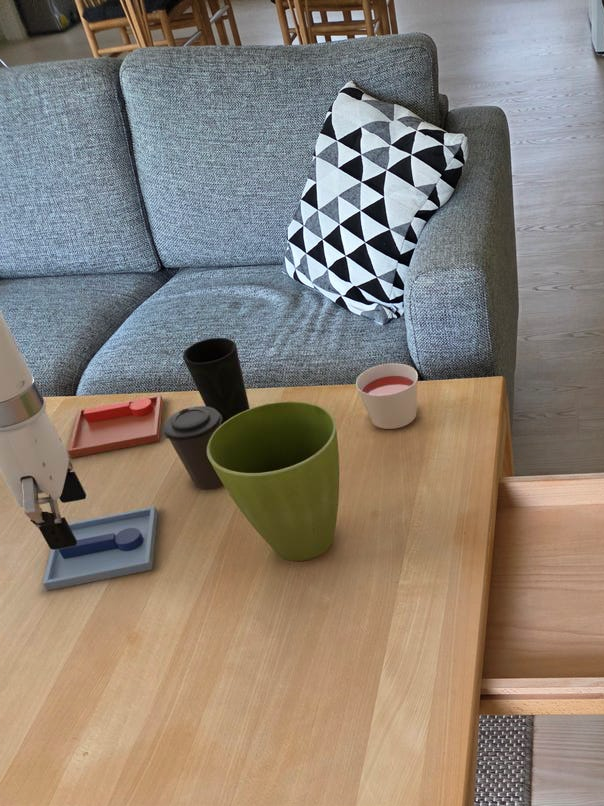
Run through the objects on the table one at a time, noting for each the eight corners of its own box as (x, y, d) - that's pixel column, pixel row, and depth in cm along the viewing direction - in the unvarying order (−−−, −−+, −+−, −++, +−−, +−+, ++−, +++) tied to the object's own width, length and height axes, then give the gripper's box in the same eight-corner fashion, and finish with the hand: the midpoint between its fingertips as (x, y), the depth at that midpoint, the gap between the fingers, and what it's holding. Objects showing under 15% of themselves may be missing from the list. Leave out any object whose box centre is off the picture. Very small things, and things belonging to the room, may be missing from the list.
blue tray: (46, 590, 109) (42, 583, 108) (60, 532, 117) (56, 525, 117) (152, 569, 110) (148, 562, 109) (158, 513, 118) (154, 506, 118)
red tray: (70, 457, 130) (67, 451, 130) (80, 416, 139) (77, 409, 138) (159, 441, 131) (156, 434, 131) (163, 401, 140) (160, 394, 139)
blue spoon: (62, 564, 112) (57, 554, 111) (66, 547, 114) (60, 538, 113) (142, 548, 113) (138, 538, 111) (144, 532, 115) (140, 522, 114)
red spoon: (86, 426, 136) (82, 417, 135) (89, 415, 138) (85, 406, 137) (152, 414, 137) (149, 405, 135) (154, 403, 139) (150, 394, 138)
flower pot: (329, 592, 104) (296, 482, 92) (223, 572, 108) (180, 464, 97) (381, 516, 113) (357, 408, 102) (282, 500, 118) (249, 395, 106)
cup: (269, 416, 133) (246, 343, 125) (234, 442, 129) (209, 368, 121) (233, 405, 137) (209, 333, 128) (198, 430, 133) (171, 357, 124)
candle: (363, 406, 133) (355, 368, 128) (421, 397, 133) (415, 359, 129) (364, 438, 127) (356, 399, 122) (425, 429, 127) (419, 390, 122)
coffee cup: (207, 457, 127) (184, 396, 120) (252, 467, 124) (231, 405, 117) (172, 489, 122) (146, 427, 115) (218, 500, 119) (194, 437, 112)
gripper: (-13, 371, 103) (49, 488, 116) (-45, 450, 91) (28, 571, 104) (51, 360, 104) (106, 478, 116) (28, 437, 92) (92, 560, 104)
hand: (69, 522), depth 110 cm, fingers open, 9 cm apart
